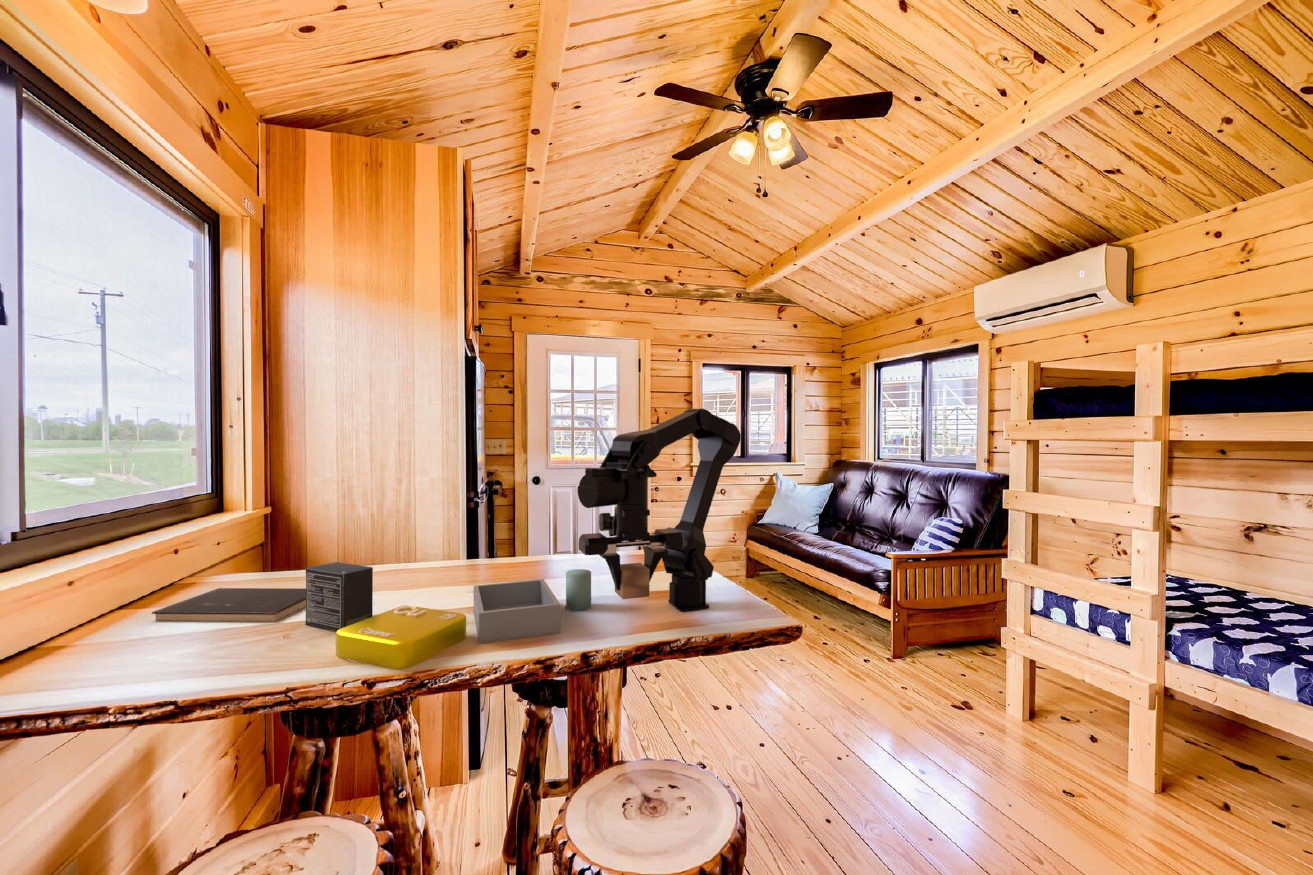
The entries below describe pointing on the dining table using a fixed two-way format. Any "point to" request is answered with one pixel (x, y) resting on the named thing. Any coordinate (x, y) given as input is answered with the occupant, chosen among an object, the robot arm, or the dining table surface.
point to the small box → (338, 595)
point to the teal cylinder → (578, 590)
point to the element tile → (401, 637)
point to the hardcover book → (236, 605)
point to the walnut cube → (633, 581)
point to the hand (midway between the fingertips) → (631, 588)
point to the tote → (515, 610)
